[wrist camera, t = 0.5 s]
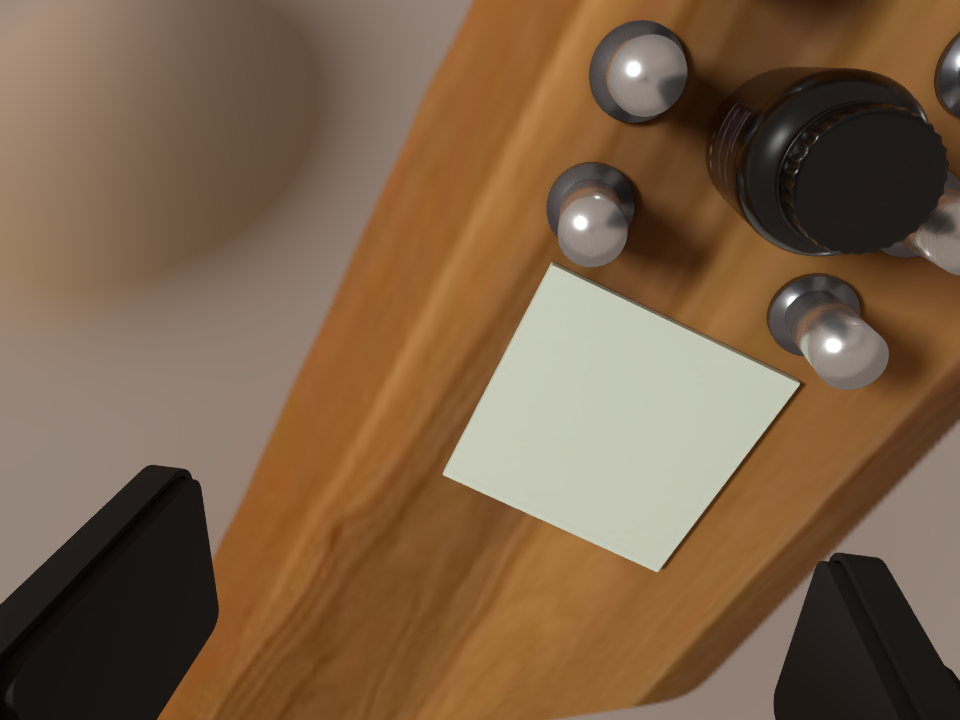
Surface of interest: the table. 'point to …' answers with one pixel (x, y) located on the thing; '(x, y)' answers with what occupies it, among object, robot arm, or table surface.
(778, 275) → the table surface
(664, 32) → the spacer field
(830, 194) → the supplement bottle
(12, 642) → the robot arm
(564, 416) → the sage pad
